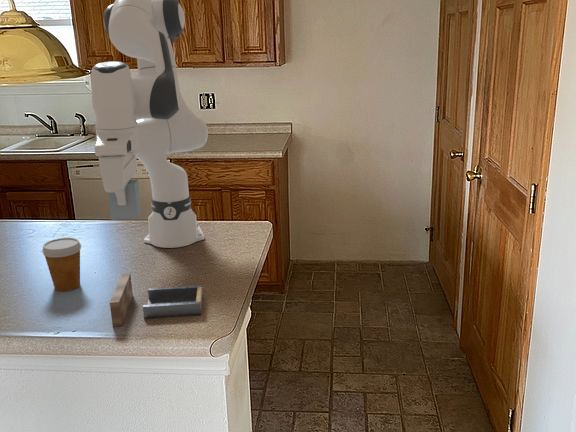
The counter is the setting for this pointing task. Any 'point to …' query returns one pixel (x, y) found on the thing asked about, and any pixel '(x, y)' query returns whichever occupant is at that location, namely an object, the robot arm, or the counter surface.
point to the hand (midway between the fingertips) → (124, 201)
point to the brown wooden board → (121, 300)
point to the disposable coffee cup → (63, 262)
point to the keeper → (173, 302)
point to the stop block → (132, 206)
